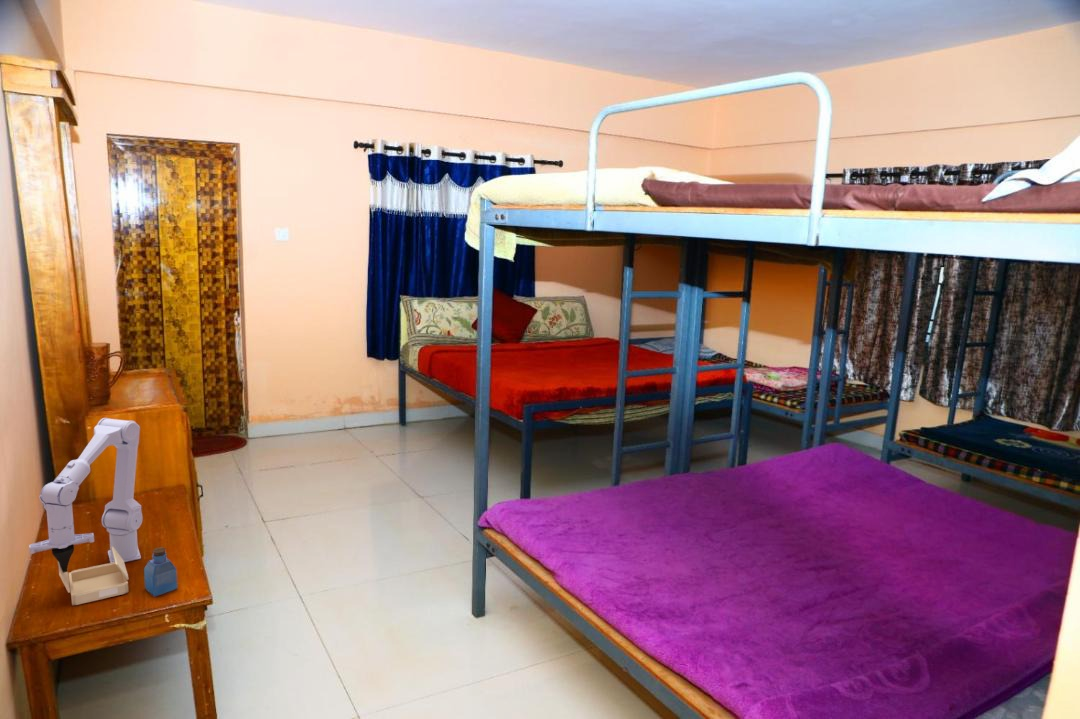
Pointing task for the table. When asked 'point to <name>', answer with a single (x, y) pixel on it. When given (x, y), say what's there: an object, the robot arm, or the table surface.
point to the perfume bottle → (160, 574)
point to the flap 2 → (120, 562)
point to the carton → (96, 583)
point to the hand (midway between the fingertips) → (64, 570)
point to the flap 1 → (64, 577)
